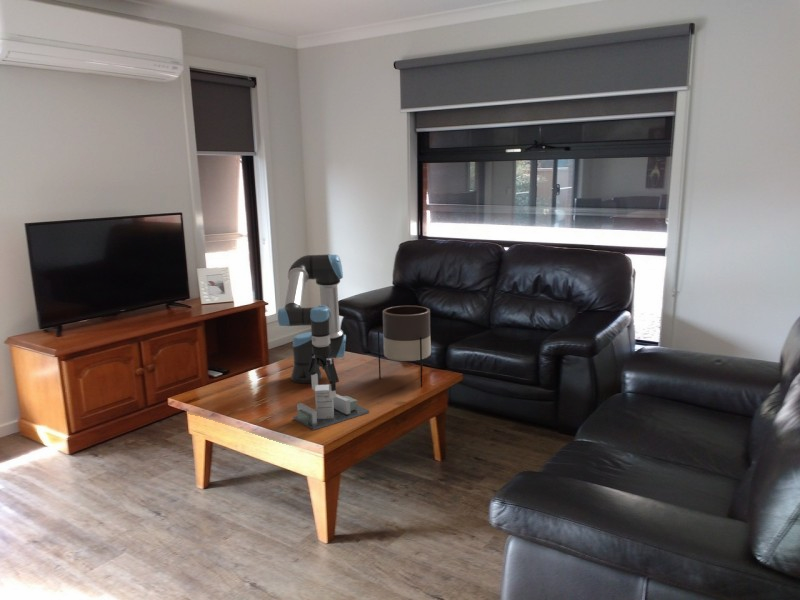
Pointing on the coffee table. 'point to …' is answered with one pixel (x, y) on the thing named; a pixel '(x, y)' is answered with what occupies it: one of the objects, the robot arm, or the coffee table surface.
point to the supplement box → (323, 402)
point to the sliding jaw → (344, 404)
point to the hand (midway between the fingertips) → (323, 393)
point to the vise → (310, 420)
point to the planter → (406, 334)
